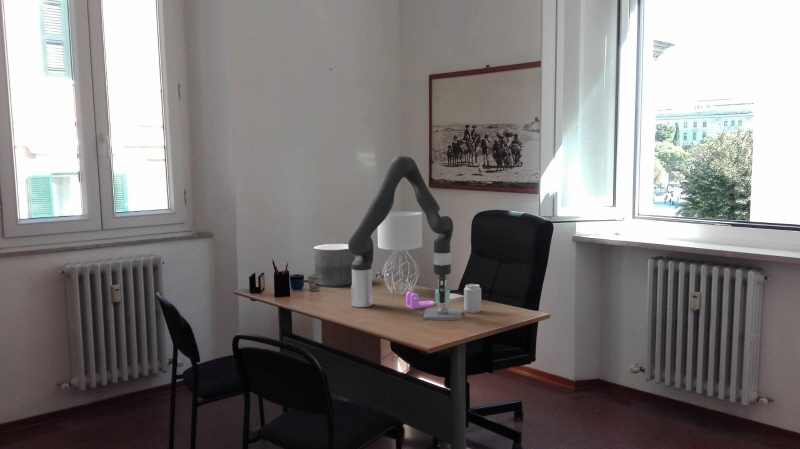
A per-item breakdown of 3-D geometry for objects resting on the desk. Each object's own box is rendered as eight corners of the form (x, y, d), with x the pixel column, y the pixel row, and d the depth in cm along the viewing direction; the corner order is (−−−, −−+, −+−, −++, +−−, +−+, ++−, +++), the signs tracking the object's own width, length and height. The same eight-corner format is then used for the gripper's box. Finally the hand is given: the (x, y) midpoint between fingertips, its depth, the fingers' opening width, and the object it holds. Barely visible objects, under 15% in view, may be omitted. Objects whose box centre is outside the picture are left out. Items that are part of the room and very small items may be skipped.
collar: (435, 303, 281) (435, 292, 280) (435, 300, 287) (435, 289, 286) (449, 304, 280) (449, 292, 280) (449, 300, 286) (449, 289, 286)
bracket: (411, 309, 297) (411, 294, 296) (406, 306, 302) (405, 291, 301) (436, 305, 303) (436, 290, 302) (430, 303, 308) (430, 288, 307)
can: (470, 314, 286) (470, 287, 284) (460, 310, 292) (460, 284, 291) (484, 312, 289) (484, 285, 288) (475, 308, 296) (474, 282, 294)
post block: (423, 319, 278) (422, 295, 277) (425, 311, 292) (424, 288, 291) (461, 320, 276) (460, 295, 275) (461, 311, 290) (461, 288, 289)
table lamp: (369, 292, 333) (368, 214, 328) (398, 285, 349) (397, 210, 345) (403, 298, 318) (401, 216, 314) (431, 290, 335) (430, 212, 330)
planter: (354, 286, 348) (353, 249, 345) (312, 287, 347) (311, 250, 345) (356, 278, 370) (355, 243, 367) (317, 279, 369) (316, 244, 367)
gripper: (434, 259, 289) (434, 297, 291) (432, 265, 275) (432, 305, 277) (451, 259, 288) (451, 297, 290) (450, 265, 274) (450, 305, 276)
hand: (442, 301), depth 283 cm, fingers closed on collar, 6 cm apart
